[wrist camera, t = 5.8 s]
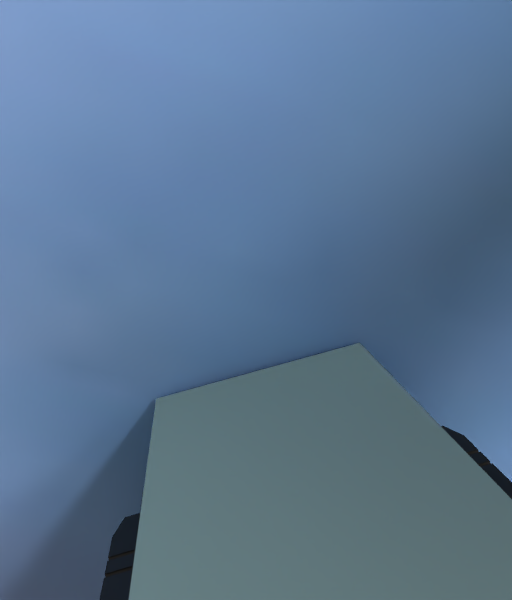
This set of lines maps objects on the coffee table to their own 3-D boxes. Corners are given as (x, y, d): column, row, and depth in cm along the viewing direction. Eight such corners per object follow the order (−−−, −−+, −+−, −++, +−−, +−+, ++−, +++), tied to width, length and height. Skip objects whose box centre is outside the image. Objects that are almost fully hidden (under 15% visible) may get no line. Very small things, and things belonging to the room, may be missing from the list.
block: (155, 398, 11) (110, 730, 5) (359, 342, 12) (588, 578, 5) (210, 564, 13) (234, 998, 6) (390, 510, 13) (600, 867, 6)
